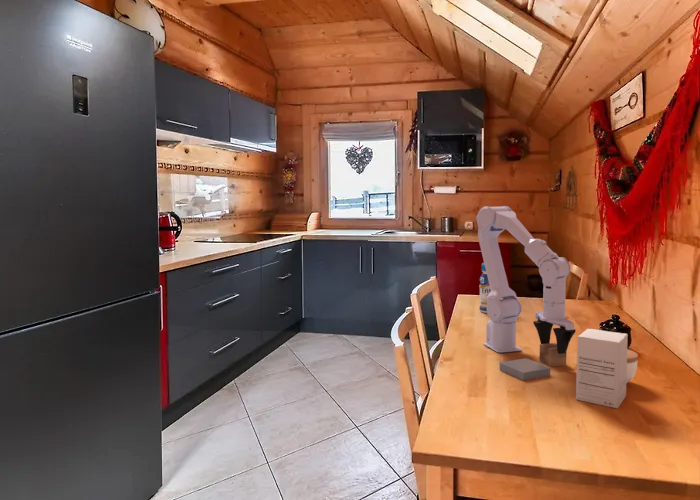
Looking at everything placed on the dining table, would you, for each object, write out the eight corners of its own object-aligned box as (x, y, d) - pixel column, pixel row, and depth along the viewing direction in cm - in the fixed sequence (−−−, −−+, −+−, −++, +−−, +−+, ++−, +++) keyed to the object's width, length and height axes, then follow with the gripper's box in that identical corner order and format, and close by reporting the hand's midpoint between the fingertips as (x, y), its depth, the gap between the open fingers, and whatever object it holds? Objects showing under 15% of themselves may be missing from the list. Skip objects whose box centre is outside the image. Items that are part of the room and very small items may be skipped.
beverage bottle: (498, 309, 211) (499, 262, 209) (501, 313, 203) (502, 264, 201) (478, 309, 212) (478, 262, 210) (480, 313, 204) (480, 264, 202)
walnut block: (539, 361, 143) (539, 344, 142) (554, 359, 144) (555, 342, 143) (550, 366, 138) (550, 349, 137) (566, 365, 139) (566, 347, 138)
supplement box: (585, 388, 122) (587, 327, 120) (626, 396, 116) (629, 333, 115) (574, 399, 115) (576, 335, 113) (617, 409, 109) (620, 342, 108)
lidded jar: (611, 392, 119) (612, 353, 118) (579, 377, 129) (580, 341, 128) (647, 387, 122) (649, 349, 121) (613, 373, 132) (614, 338, 131)
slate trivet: (499, 371, 136) (499, 362, 135) (525, 366, 139) (525, 358, 139) (523, 382, 127) (523, 372, 127) (550, 377, 131) (550, 367, 131)
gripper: (526, 297, 145) (525, 343, 146) (557, 307, 131) (556, 358, 132) (547, 296, 147) (547, 341, 148) (581, 305, 133) (580, 355, 134)
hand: (553, 349), depth 140 cm, fingers open, 7 cm apart
